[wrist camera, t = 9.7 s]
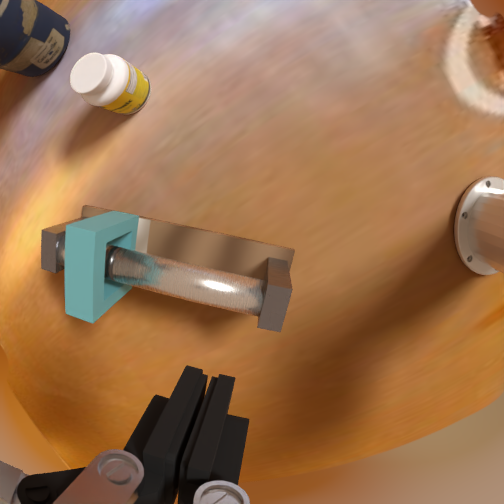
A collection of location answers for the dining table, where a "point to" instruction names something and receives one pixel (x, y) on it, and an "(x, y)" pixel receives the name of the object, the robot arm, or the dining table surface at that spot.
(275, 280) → the rail
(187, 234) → the base board
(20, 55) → the canister
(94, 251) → the teal rectangular frame
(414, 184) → the dining table surface
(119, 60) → the supplement bottle
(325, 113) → the dining table surface
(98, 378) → the dining table surface
